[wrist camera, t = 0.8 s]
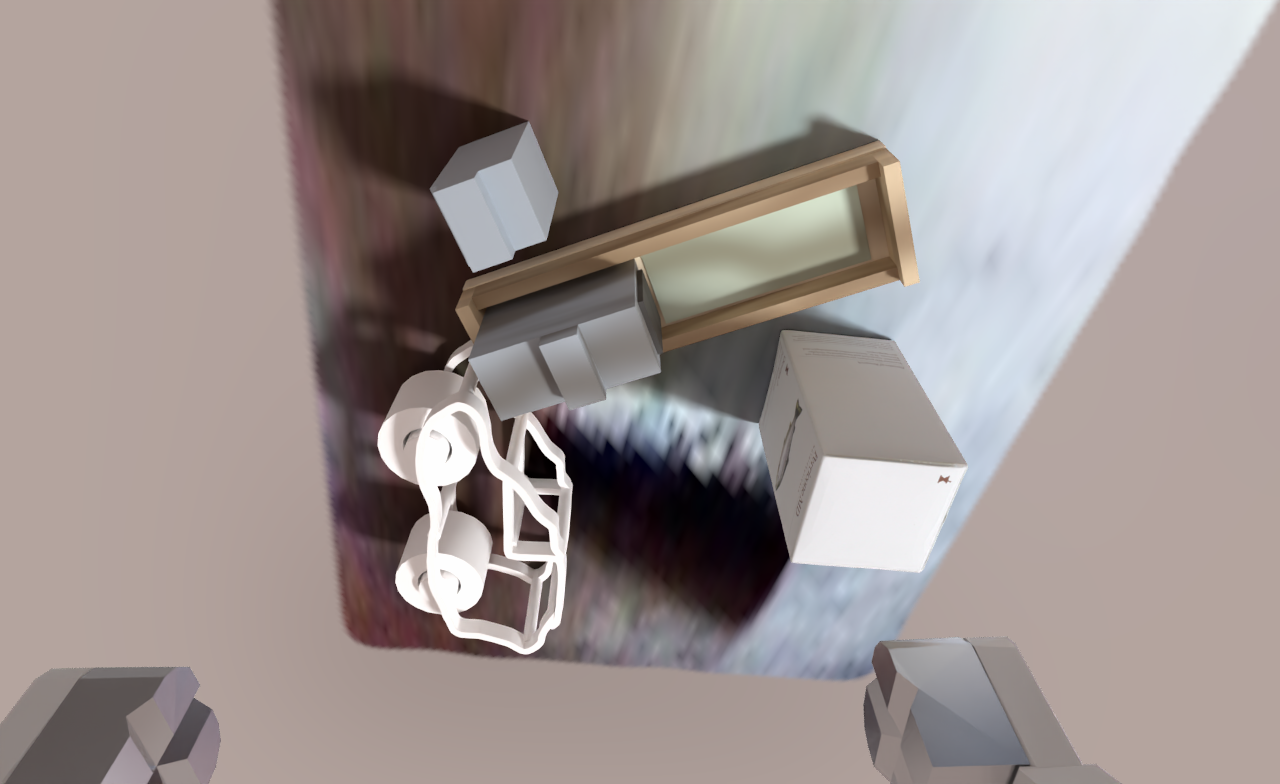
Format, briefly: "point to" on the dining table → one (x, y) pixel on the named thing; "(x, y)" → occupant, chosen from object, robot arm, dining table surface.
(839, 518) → the supplement box
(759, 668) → the dining table surface
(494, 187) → the stepped grey block
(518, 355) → the wooden rectangular frame
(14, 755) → the robot arm
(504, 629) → the car outline toy
